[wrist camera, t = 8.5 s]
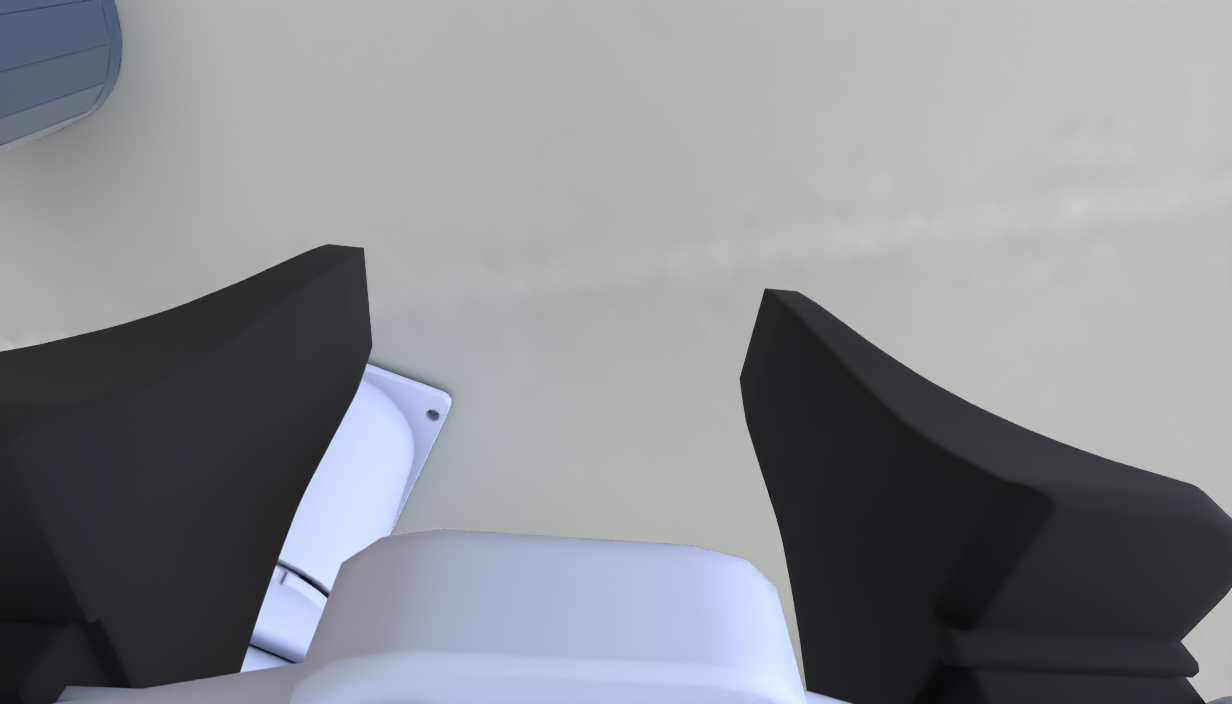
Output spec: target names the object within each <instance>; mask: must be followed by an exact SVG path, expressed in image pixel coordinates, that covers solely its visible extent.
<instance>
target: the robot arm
mask: <svg viewBox="0 0 1232 704" xmlns="http://www.w3.org/2000/svg"><path fill="white" fill-rule="evenodd" d="M371 349H372V336H371V325H370V314H369V302H368V291H367V280H366V268H365V257H364V248H360V247H350V246H340V245H330V244H327V245H324V246H320V247H317V248H314V249H312V250H309V251H307V252H305V253H302V254H300V255H298V256H296V257H293V258H291V259H289V260H287V261H285V262H282V263H280V264H278V265H276V266H274V267H271V268H269V269H267V270H265V271H263V272H260V273H258V274H256V275H254V276H252V277H249V278H247V279H245V280H243V281H240V282H238V283H236V284H233V285H231V286H228V287H226V288H223V289H221V290H218V291H216V292H213V293H211V294H209V295H206V296H204V297H201V298H199V299H196V300H194V301H191V302H189V303H186V304H183V305H181V306H178V307H175V308H172V309H169V310H166V311H163V312H161V313H158V314H154V315H151V316H148V317H145V318H141V319H138V320H135V321H132V322H128V323H125V324H122V325H118V326H114V327H111V328H107V329H103V330H99V331H94V332H90V333H86V334H82V335H78V336H73V337H69V338H65V339H61V340H56V341H52V342H48V343H44V344H39V345H34V346H29V347H24V348H19V349H13V350H8V351H2V352H0V704H1206V703H1205V702H1204V701H1203V699H1202V698H1201V697H1200V695H1199V694H1198V693H1197V692H1196V690H1195V689H1194V688H1193V686H1192V685H1191V684H1190V682H1189V681H1188V680H1187V679H1186V677H1192V678H1193V677H1194V676H1195V675H1196V674H1197V673H1198V672H1199V666H1198V663H1197V661H1196V660H1195V659H1194V658H1193V656H1192V655H1191V654H1190V653H1189V651H1188V650H1187V649H1186V648H1185V646H1184V645H1183V644H1182V643H1181V640H1182V639H1183V638H1184V637H1185V636H1186V635H1187V634H1188V633H1189V632H1190V631H1191V630H1192V629H1193V628H1194V627H1195V626H1196V625H1197V624H1198V623H1199V622H1200V621H1201V620H1202V619H1203V618H1204V617H1205V616H1206V615H1207V614H1208V613H1209V612H1210V611H1211V610H1212V609H1213V608H1214V607H1215V606H1216V605H1217V604H1218V603H1219V602H1220V601H1221V600H1222V599H1223V598H1224V597H1225V596H1226V594H1227V593H1228V592H1229V591H1230V589H1231V588H1232V518H1231V517H1229V516H1228V515H1227V514H1226V513H1225V512H1224V511H1223V510H1222V509H1221V508H1220V507H1219V506H1218V505H1217V504H1216V503H1215V502H1214V501H1213V500H1212V499H1211V498H1210V497H1209V496H1208V495H1207V494H1206V493H1204V492H1203V491H1202V490H1201V489H1199V488H1198V487H1196V486H1194V485H1192V484H1189V483H1186V482H1182V481H1179V480H1176V479H1172V478H1169V477H1166V476H1162V475H1159V474H1155V473H1152V472H1149V471H1145V470H1142V469H1139V468H1135V467H1132V466H1128V465H1125V464H1122V463H1118V462H1115V461H1112V460H1109V459H1106V458H1103V457H1100V456H1097V455H1094V454H1091V453H1089V452H1086V451H1083V450H1080V449H1078V448H1075V447H1072V446H1069V445H1066V444H1064V443H1061V442H1058V441H1056V440H1053V439H1051V438H1048V437H1045V436H1043V435H1040V434H1038V433H1035V432H1033V431H1030V430H1028V429H1026V428H1023V427H1021V426H1019V425H1017V424H1014V423H1012V422H1010V421H1008V420H1005V419H1003V418H1001V417H999V416H997V415H994V414H992V413H990V412H988V411H986V410H984V409H982V408H979V407H977V406H975V405H973V404H971V403H969V402H967V401H965V400H964V399H962V398H960V397H958V396H956V395H954V394H952V393H951V392H949V391H947V390H945V389H943V388H941V387H940V386H938V385H936V384H934V383H932V382H931V381H929V380H927V379H926V378H924V377H922V376H920V375H919V374H917V373H916V372H914V371H913V370H911V369H909V368H908V367H906V366H905V365H903V364H902V363H900V362H899V361H897V360H895V359H894V358H892V357H891V356H889V355H888V354H886V353H885V352H884V351H882V350H881V349H879V348H878V347H876V346H875V345H873V344H872V343H871V342H869V341H868V340H866V339H865V338H864V337H862V336H861V335H859V334H858V333H857V332H855V331H854V330H853V329H851V328H850V327H848V326H847V325H846V324H844V323H843V322H842V321H840V320H839V319H838V318H836V317H835V316H834V315H832V314H831V313H829V312H828V311H827V310H825V309H824V308H823V307H821V306H820V305H818V304H817V303H815V302H814V301H812V300H811V299H809V298H808V297H806V296H804V295H803V294H801V293H799V292H796V291H786V290H776V289H766V288H765V290H764V294H763V297H762V301H761V304H760V308H759V312H758V315H757V319H756V322H755V326H754V329H753V333H752V337H751V340H750V344H749V347H748V351H747V354H746V358H745V362H744V365H743V369H742V372H741V376H740V384H741V392H742V399H743V406H744V412H745V418H746V423H747V426H748V430H749V433H750V436H751V440H752V443H753V446H754V449H755V453H756V456H757V459H758V462H759V465H760V468H761V472H762V475H763V478H764V481H765V484H766V487H767V490H768V493H769V497H770V500H771V503H772V506H773V509H774V512H775V515H776V519H777V522H778V526H779V530H780V534H781V537H782V542H783V547H784V552H785V557H786V562H787V568H788V573H789V578H790V583H791V589H792V595H793V601H794V607H795V613H796V619H797V625H798V631H799V637H800V644H801V651H802V659H803V666H804V673H805V680H806V688H807V691H806V690H803V686H802V683H801V679H800V675H799V671H798V668H797V664H796V660H795V656H794V653H793V649H792V645H791V641H790V638H789V634H788V630H787V626H786V623H785V619H784V615H783V612H782V608H781V604H780V600H779V597H778V593H777V589H776V588H775V587H774V586H773V585H772V584H771V583H770V582H769V581H768V580H767V579H766V578H765V577H764V576H763V575H762V574H761V573H760V572H759V571H758V570H757V569H756V568H755V567H754V566H753V565H752V564H750V563H749V562H748V561H747V560H745V559H742V558H738V557H735V556H731V555H727V554H723V553H719V552H715V551H712V550H708V549H704V548H700V547H696V546H692V545H680V544H664V543H649V542H633V541H618V540H602V539H586V538H571V537H555V536H540V535H524V534H509V533H493V532H477V531H462V530H446V529H442V530H433V531H425V532H416V533H408V534H399V535H391V536H390V534H391V532H392V530H393V528H394V526H395V524H396V522H397V520H398V518H399V515H400V513H401V511H402V509H403V507H404V505H405V503H406V501H407V499H408V496H409V494H410V492H411V490H412V488H413V486H414V484H415V482H416V480H417V478H418V475H419V473H420V471H421V469H422V467H423V465H424V463H425V461H426V459H427V456H428V454H429V452H430V450H431V448H432V446H433V444H434V442H435V440H436V437H437V435H438V433H439V431H440V429H441V427H442V425H443V423H444V421H445V418H446V416H447V414H448V412H449V410H450V407H451V402H452V400H451V397H450V396H449V395H448V394H447V393H445V392H444V391H441V390H439V389H436V388H433V387H430V386H428V385H425V384H422V383H419V382H417V381H414V380H411V379H408V378H406V377H403V376H400V375H397V374H395V373H392V372H389V371H386V370H384V369H381V368H378V367H375V366H373V365H370V364H367V362H368V358H369V355H370V352H371ZM429 410H435V411H436V412H438V413H439V414H436V415H435V414H431V413H430V412H429ZM1207 704H1232V696H1228V697H1222V698H1219V699H1216V700H1213V701H1210V702H1208V703H1207Z"/></svg>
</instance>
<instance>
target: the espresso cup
mask: <svg viewBox="0 0 1232 704" xmlns="http://www.w3.org/2000/svg"><path fill="white" fill-rule="evenodd" d="M120 60H121V35H120V25H119V21H118V16H117V12H116V8H115V5H114V2H113V0H0V154H1V153H4V152H6V151H9V150H11V149H14V148H16V147H19V146H21V145H24V144H26V143H29V142H31V141H34V140H36V139H39V138H41V137H44V136H46V135H49V134H51V133H53V132H56V131H58V130H61V129H63V128H65V127H66V126H68V125H70V124H72V123H75V122H77V121H79V120H81V119H83V118H85V117H87V116H88V115H89V114H91V113H92V112H93V111H95V110H96V109H97V108H98V107H99V106H100V105H101V104H102V103H103V101H104V100H105V99H106V98H107V96H108V94H109V93H110V91H111V89H112V88H113V85H114V83H115V80H116V77H117V75H118V70H119V65H120Z"/></svg>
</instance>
